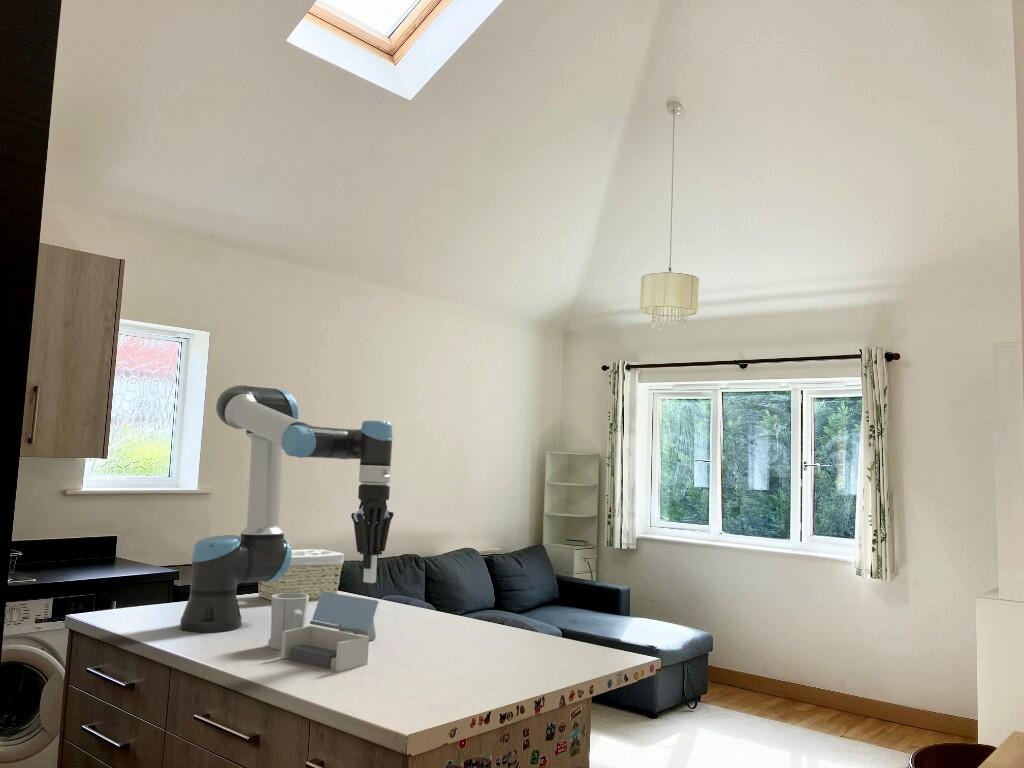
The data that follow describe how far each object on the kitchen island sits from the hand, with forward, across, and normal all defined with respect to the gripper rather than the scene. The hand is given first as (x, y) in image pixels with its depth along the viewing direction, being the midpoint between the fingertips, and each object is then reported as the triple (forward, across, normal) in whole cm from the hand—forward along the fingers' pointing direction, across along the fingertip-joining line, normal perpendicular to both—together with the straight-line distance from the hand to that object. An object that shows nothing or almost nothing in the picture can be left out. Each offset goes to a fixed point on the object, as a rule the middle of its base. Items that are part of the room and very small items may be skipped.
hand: (369, 582), depth 193 cm
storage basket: (+16, +40, +66) cm, 79 cm away
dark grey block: (+16, -16, +1) cm, 23 cm away
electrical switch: (+16, +6, +10) cm, 20 cm away
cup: (+16, -9, +16) cm, 25 cm away
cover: (+6, -8, 0) cm, 10 cm away
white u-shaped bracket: (+16, -13, 0) cm, 21 cm away
